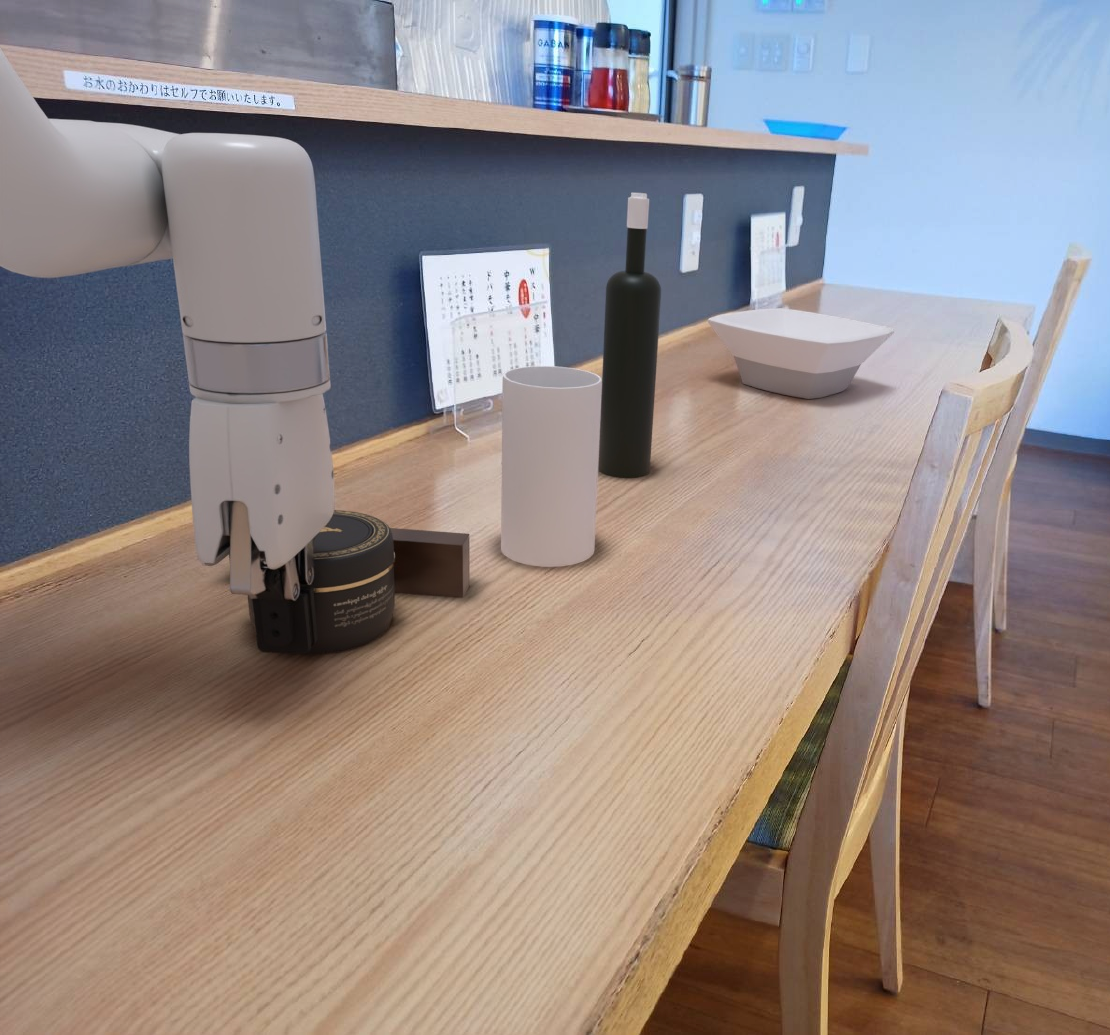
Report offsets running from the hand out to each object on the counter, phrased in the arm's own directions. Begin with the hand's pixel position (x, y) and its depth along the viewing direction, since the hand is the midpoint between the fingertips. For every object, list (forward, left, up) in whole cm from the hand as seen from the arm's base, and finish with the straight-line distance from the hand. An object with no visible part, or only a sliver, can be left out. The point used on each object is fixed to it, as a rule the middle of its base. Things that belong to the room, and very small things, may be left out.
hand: (288, 646), depth 63 cm
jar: (-1, +8, -3) cm, 8 cm away
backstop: (-1, +15, -3) cm, 15 cm away
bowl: (+42, +101, -3) cm, 109 cm away
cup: (+13, +25, -3) cm, 28 cm away
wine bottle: (+18, +49, -3) cm, 52 cm away
